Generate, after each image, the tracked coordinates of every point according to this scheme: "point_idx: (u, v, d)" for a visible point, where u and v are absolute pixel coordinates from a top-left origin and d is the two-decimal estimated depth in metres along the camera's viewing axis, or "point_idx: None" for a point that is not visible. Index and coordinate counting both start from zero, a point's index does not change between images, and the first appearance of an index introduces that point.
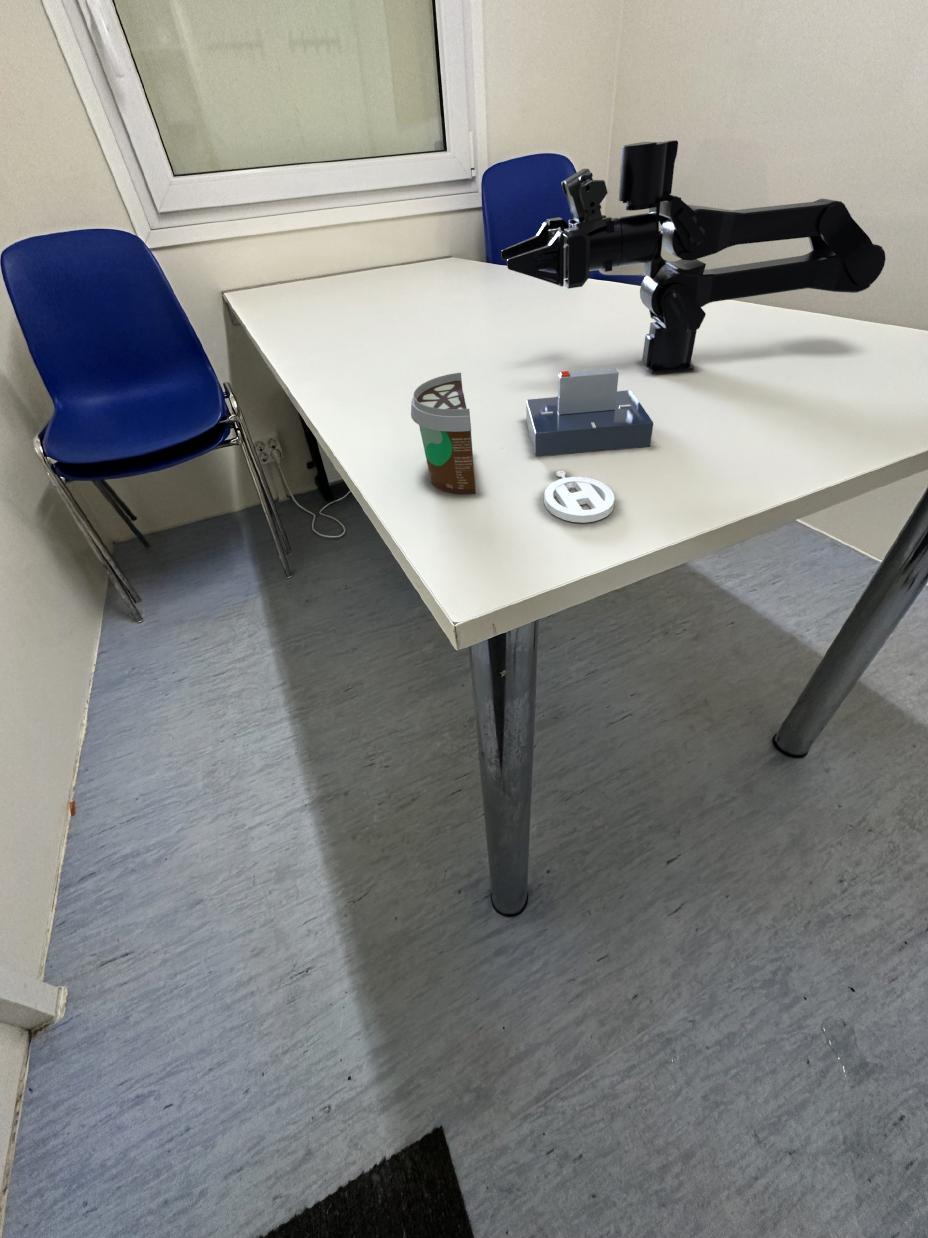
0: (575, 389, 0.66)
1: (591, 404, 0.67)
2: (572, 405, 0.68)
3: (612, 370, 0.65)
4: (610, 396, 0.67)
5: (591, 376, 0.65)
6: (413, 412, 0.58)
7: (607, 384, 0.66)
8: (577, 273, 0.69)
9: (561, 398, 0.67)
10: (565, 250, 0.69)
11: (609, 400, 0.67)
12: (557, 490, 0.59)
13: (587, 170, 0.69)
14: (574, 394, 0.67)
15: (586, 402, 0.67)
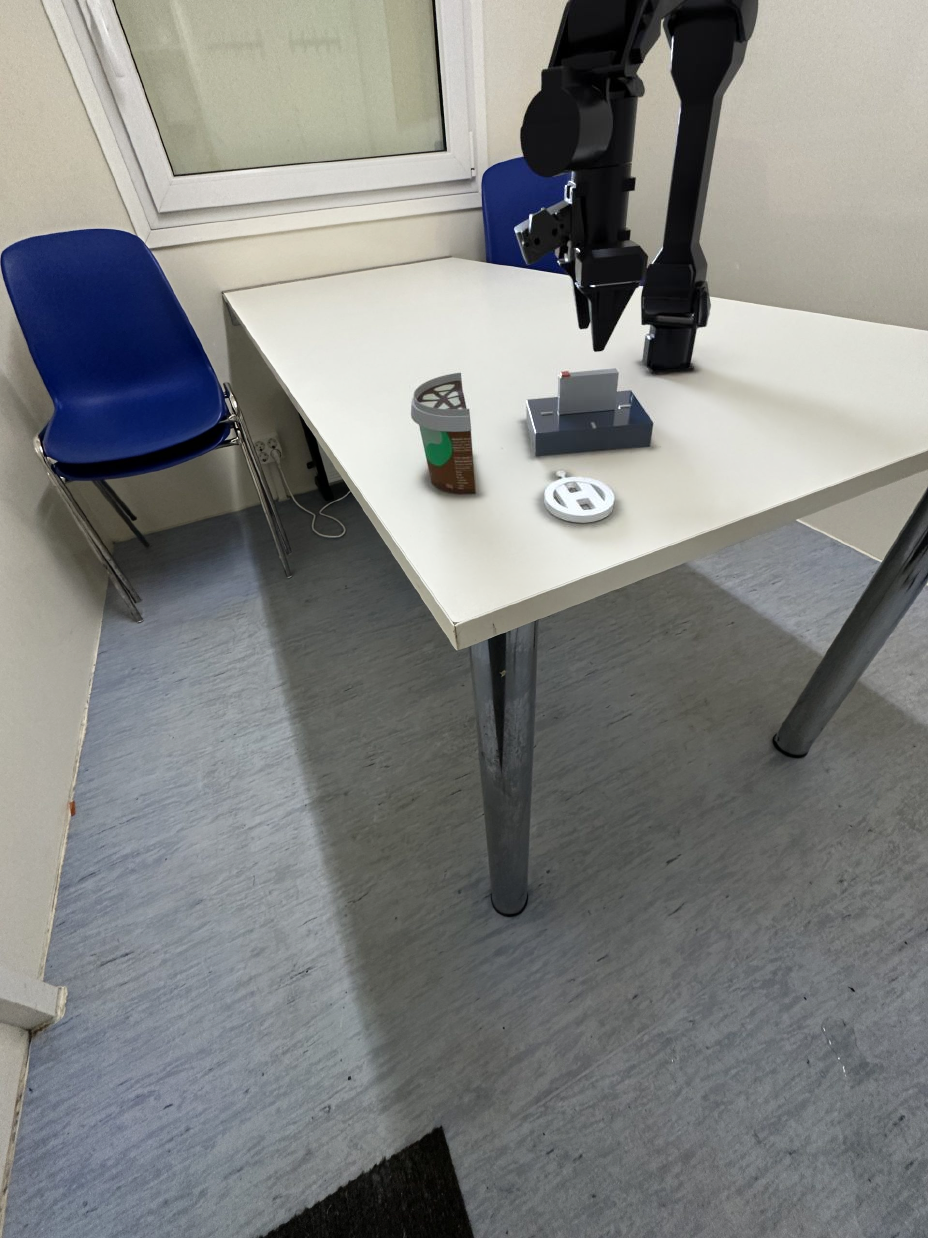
0: (575, 389, 0.66)
1: (591, 404, 0.67)
2: (572, 405, 0.68)
3: (612, 370, 0.65)
4: (610, 396, 0.67)
5: (591, 376, 0.65)
6: (413, 412, 0.58)
7: (607, 384, 0.66)
8: (631, 267, 0.51)
9: (561, 398, 0.67)
10: None
11: (609, 400, 0.67)
12: (557, 490, 0.59)
13: (518, 234, 0.55)
14: (574, 394, 0.67)
15: (586, 402, 0.67)
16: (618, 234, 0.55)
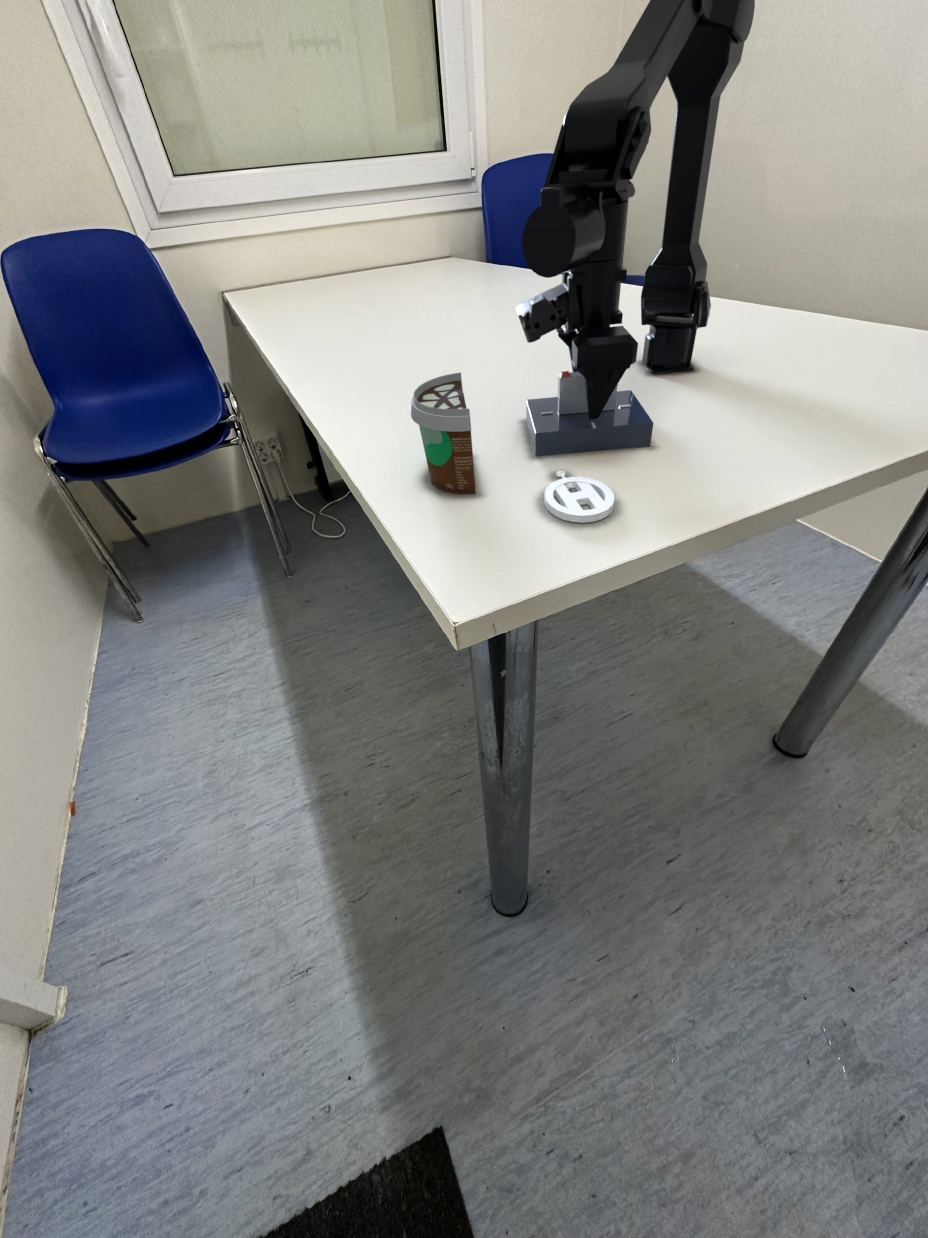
0: (575, 389, 0.66)
1: None
2: (572, 405, 0.68)
3: None
4: (610, 396, 0.67)
5: None
6: (413, 412, 0.58)
7: None
8: (622, 353, 0.56)
9: (561, 398, 0.67)
10: None
11: (609, 400, 0.67)
12: (557, 490, 0.59)
13: (519, 316, 0.60)
14: (574, 394, 0.67)
15: (586, 402, 0.67)
16: (611, 317, 0.60)
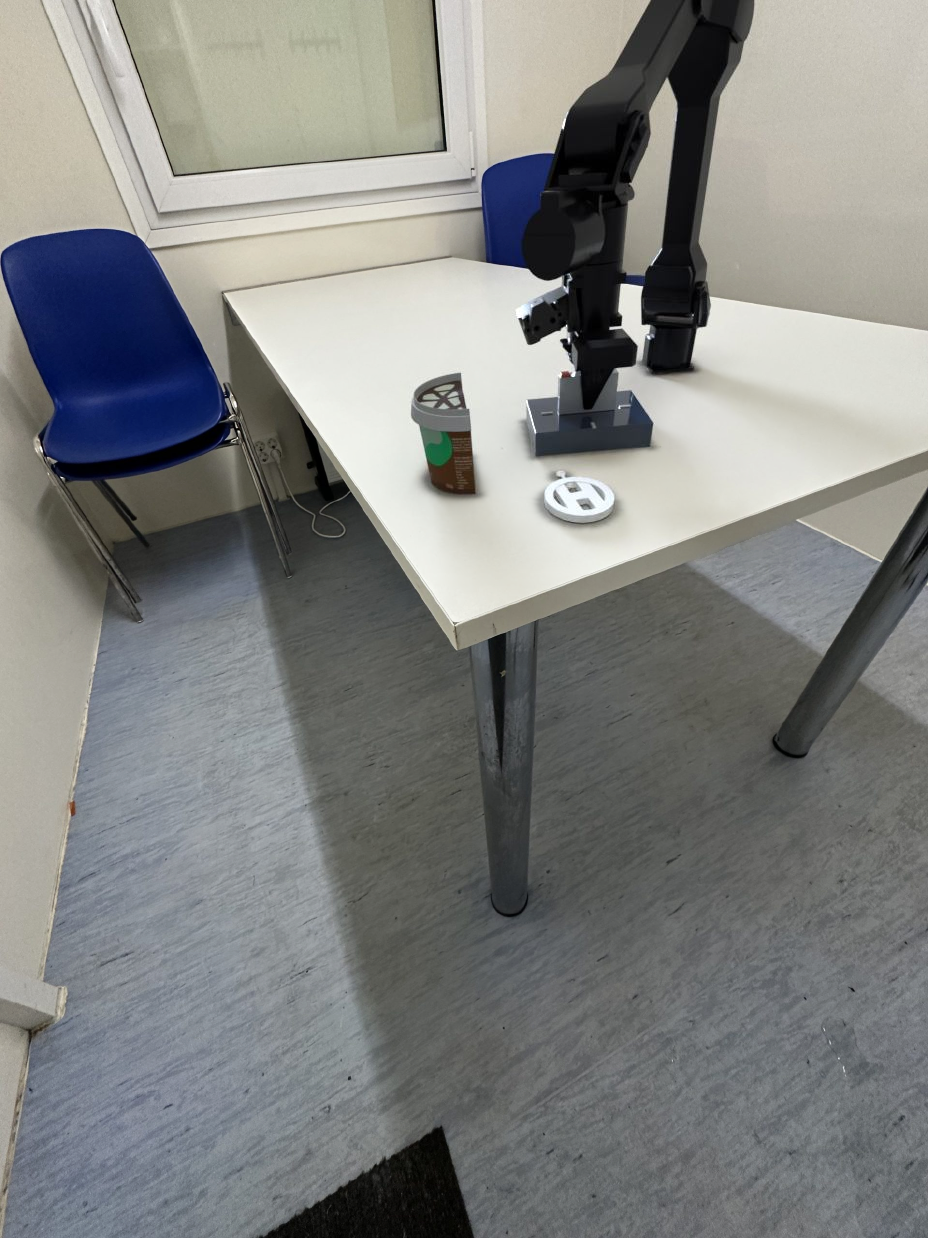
0: (575, 389, 0.66)
1: None
2: (572, 405, 0.67)
3: None
4: (610, 396, 0.67)
5: None
6: (413, 412, 0.58)
7: (607, 384, 0.66)
8: (622, 356, 0.56)
9: (561, 398, 0.67)
10: None
11: (609, 400, 0.67)
12: (557, 490, 0.59)
13: (519, 319, 0.60)
14: (574, 394, 0.67)
15: None
16: (611, 320, 0.60)
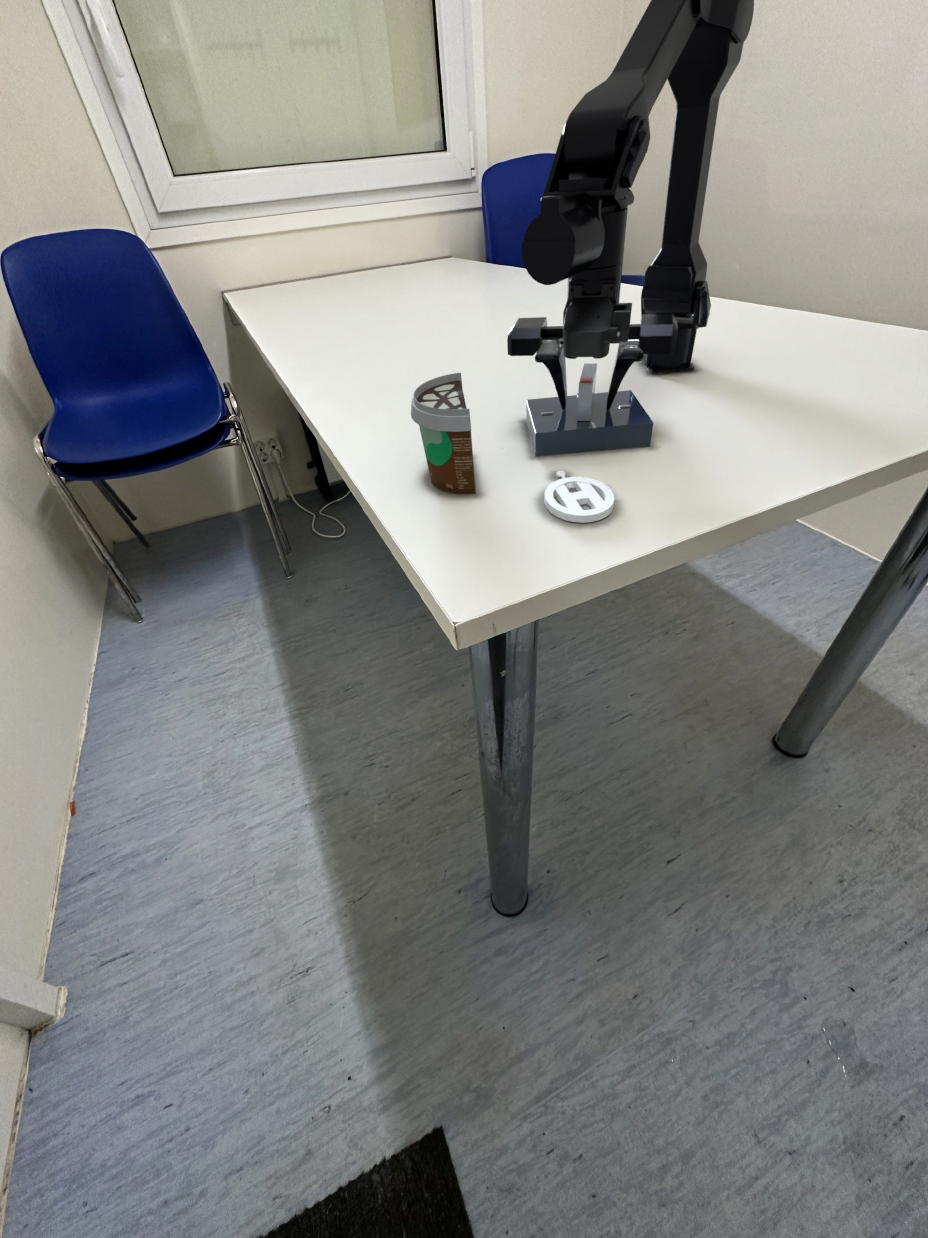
0: None
1: (593, 401, 0.68)
2: (591, 407, 0.67)
3: (591, 364, 0.68)
4: None
5: (594, 373, 0.66)
6: (413, 412, 0.58)
7: (595, 377, 0.68)
8: None
9: (591, 403, 0.65)
10: None
11: (594, 392, 0.70)
12: (557, 490, 0.59)
13: (603, 332, 0.55)
14: (592, 396, 0.66)
15: None
16: None
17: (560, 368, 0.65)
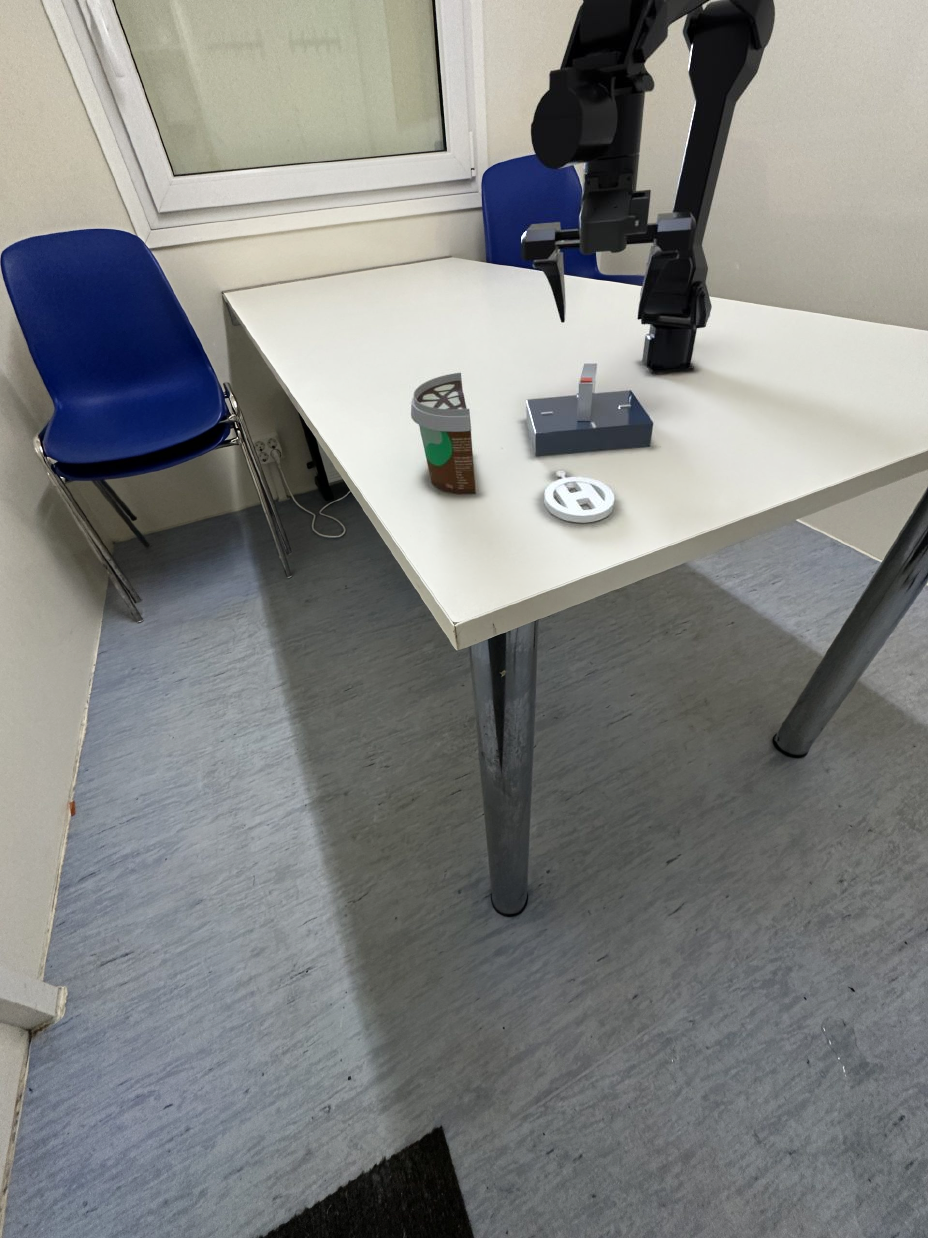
0: None
1: (593, 401, 0.68)
2: (591, 407, 0.67)
3: (591, 364, 0.68)
4: None
5: (594, 373, 0.66)
6: (413, 412, 0.58)
7: (595, 377, 0.68)
8: None
9: (591, 403, 0.65)
10: None
11: (594, 392, 0.70)
12: (557, 490, 0.59)
13: (621, 221, 0.54)
14: (592, 396, 0.66)
15: None
16: None
17: (558, 275, 0.64)
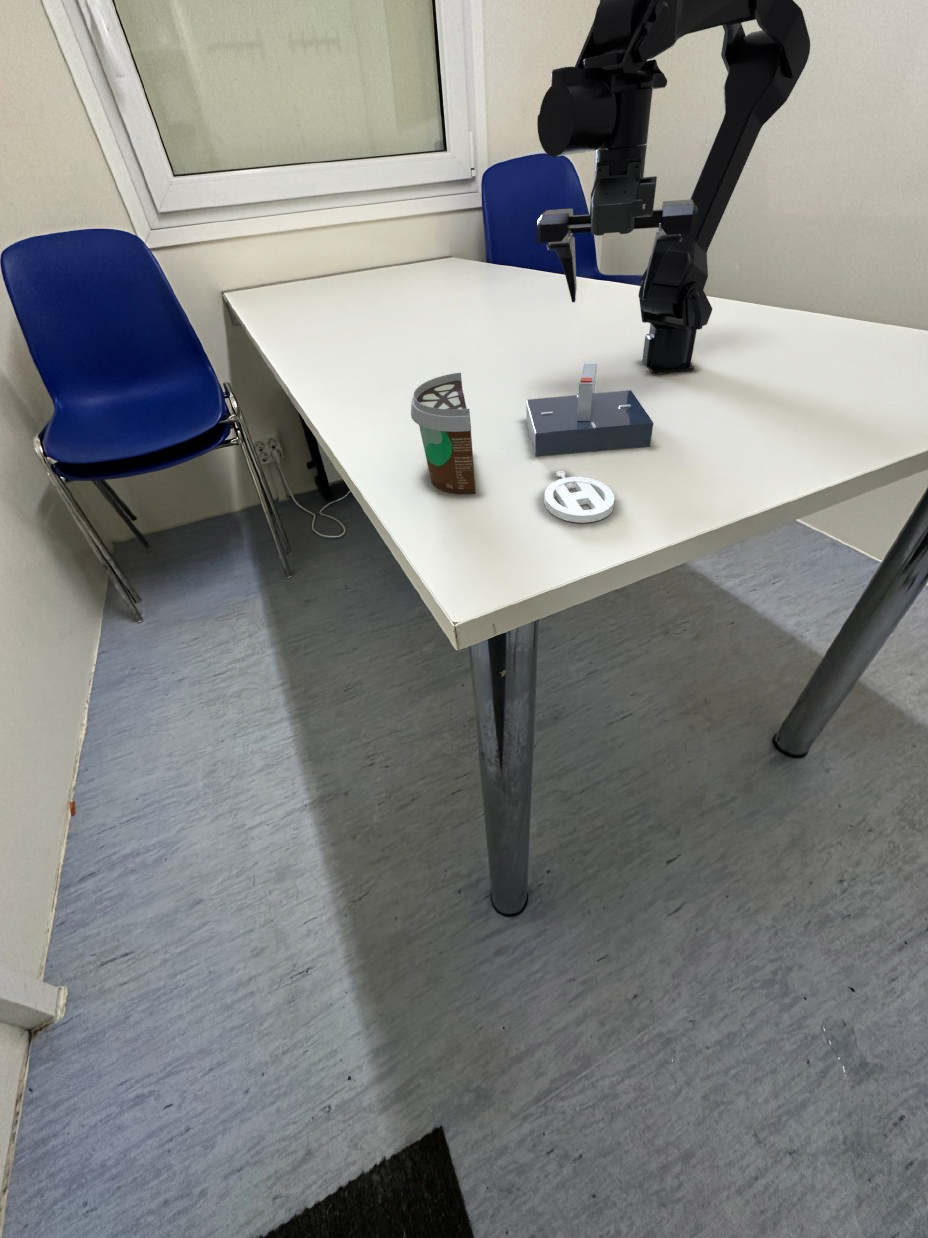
0: None
1: (593, 401, 0.68)
2: (591, 407, 0.67)
3: (591, 364, 0.68)
4: None
5: (594, 373, 0.66)
6: (413, 412, 0.58)
7: (595, 377, 0.68)
8: None
9: (591, 403, 0.65)
10: None
11: (594, 392, 0.70)
12: (557, 490, 0.59)
13: (630, 204, 0.59)
14: (592, 396, 0.66)
15: None
16: None
17: (571, 256, 0.69)
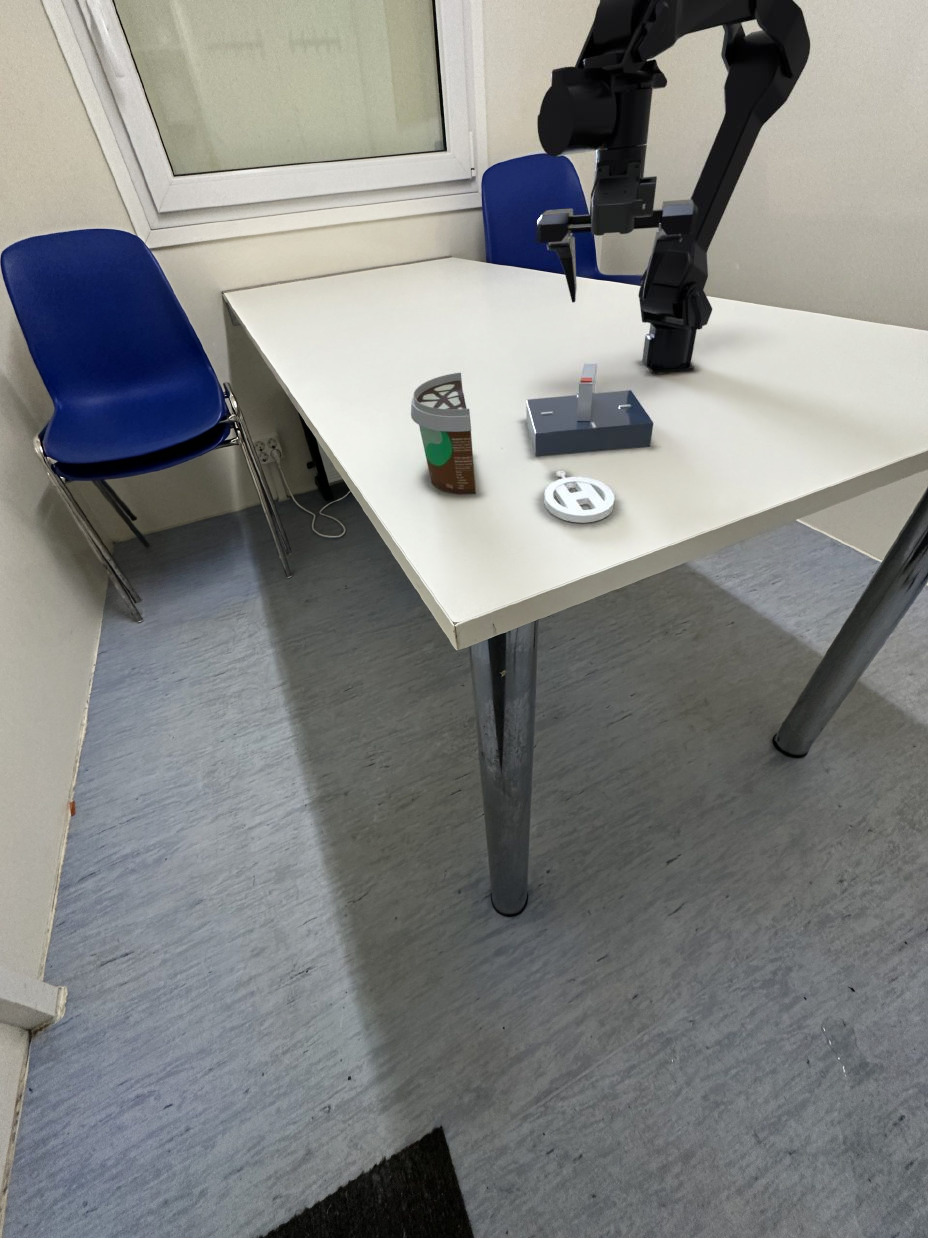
0: None
1: (593, 401, 0.68)
2: (591, 407, 0.67)
3: (591, 364, 0.68)
4: None
5: (594, 373, 0.66)
6: (413, 412, 0.58)
7: (595, 377, 0.68)
8: None
9: (591, 403, 0.65)
10: None
11: (594, 392, 0.70)
12: (557, 490, 0.59)
13: (630, 204, 0.59)
14: (592, 396, 0.66)
15: None
16: None
17: (571, 256, 0.69)
